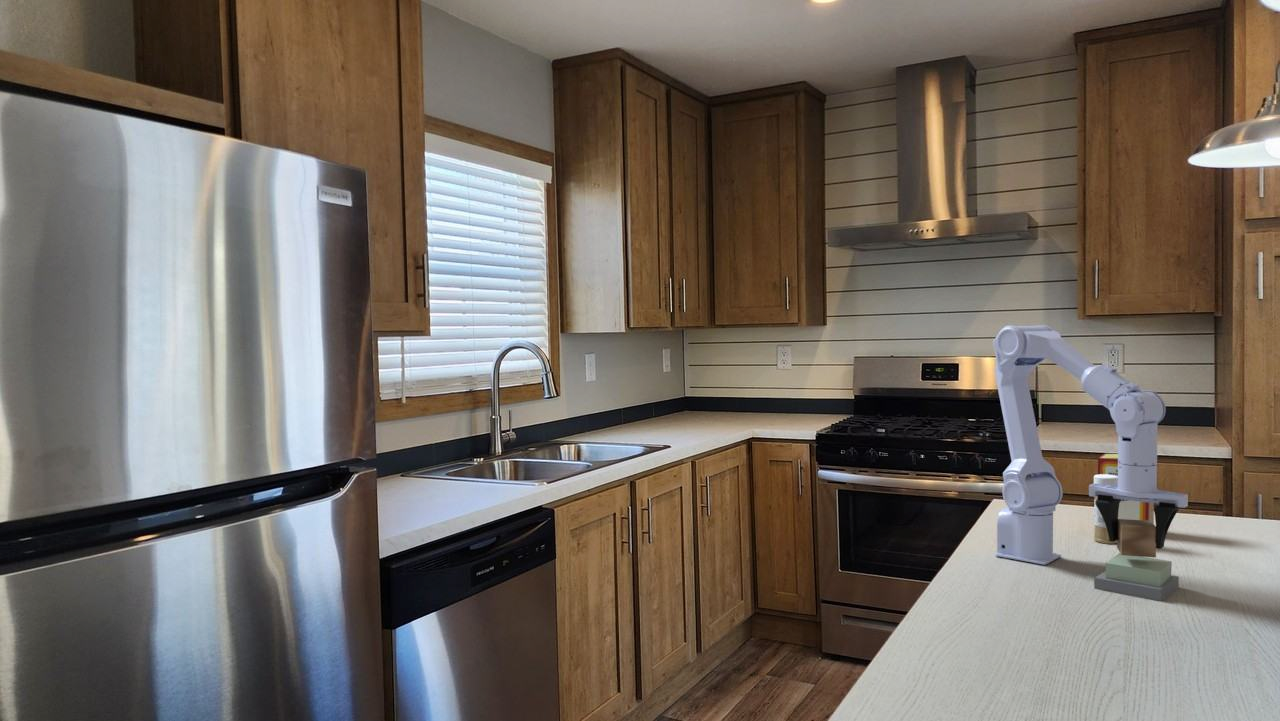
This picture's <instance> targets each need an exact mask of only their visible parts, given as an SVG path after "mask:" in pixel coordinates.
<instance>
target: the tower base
mask: <svg viewBox="0 0 1280 721" xmlns="http://www.w3.org/2000/svg"><path fill="white" fill-rule="evenodd" d="M1179 578H1180V577H1179V576H1177V575H1172V574H1171V577H1170V578H1169V579H1168V580H1167V581H1165V582H1164V583H1163V584H1162V585H1161V586H1160V587H1157V586H1151V585H1145V584H1139V583H1134V582H1128V581H1122V580H1116V579H1111V578H1106V570H1105V571H1103V572H1101V573H1100V574H1098V575H1097V576H1095V577H1094V580H1093V583H1094V584H1093V587H1094V588H1093V589H1095V590H1100V591H1106V592H1111V593H1116V594H1121V595H1125V596H1131V597H1132V596H1133V597H1135V598H1137V597H1138V598H1142V599H1146V600H1152V601H1157V602H1162V601H1163V600H1164V599H1166V598H1168V596H1169V595H1171V594H1172V593H1174V592H1175V591H1176V590H1177V589H1179V587H1180V584H1179V583H1180V579H1179Z"/></svg>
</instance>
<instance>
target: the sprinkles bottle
mask: <svg viewBox="0 0 1280 721" xmlns="http://www.w3.org/2000/svg"><path fill="white" fill-rule="evenodd" d="M1093 484H1102V485H1118V476H1115V475H1108V474H1098V473H1097V474H1095V475H1093ZM1097 498H1098V496H1096V497H1094V506H1093V507H1094V509H1093V518H1094V521H1093V525H1094V536H1093V540H1094V542H1097V543H1099V544H1108V545H1109V544H1110V545H1113V544H1117V540H1116V541H1114V542H1112V541H1109V536H1108V531H1107V528H1106V525H1105V522H1104V519H1103V517H1102V515H1101V513H1100V511H1099V509H1098V508H1097V506H1096V503H1095V501H1096V500H1097ZM1118 519H1119V512H1118Z"/></svg>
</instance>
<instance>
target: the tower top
mask: <svg viewBox="0 0 1280 721" xmlns="http://www.w3.org/2000/svg"><path fill="white" fill-rule="evenodd" d="M1172 566H1173V563H1172V560H1165V559H1160V558H1155V557H1141V556H1127V555H1121V553H1120V552H1118V553H1116V555H1114V556H1113V557H1112V558H1110V559H1109V560H1108V561H1106V563H1105V571H1106V578H1111V579H1116V580H1122V581H1128V582H1134V583H1139V584H1145V585H1151V586H1157V587H1160V586H1161V585H1162V584H1163V583H1164V582H1165V581H1167V580H1168V579H1169V578H1170V577H1171V575H1172Z"/></svg>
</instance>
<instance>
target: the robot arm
mask: <svg viewBox="0 0 1280 721" xmlns="http://www.w3.org/2000/svg"><path fill="white" fill-rule="evenodd" d="M992 344H993V350H994V353H995V354H994V355H995V366H994V375H995V381H996V385H997V393H998V397H999V401H1000V407H1001V413H1002V417H1003V423H1004V428H1005V434H1006V437H1007V438H1006V439H1007V443H1008V450H1009V455H1010V460H1011V462H1010V464H1009V465H1008V466H1007V467H1006V468H1005V470H1004V471H1003V472H1002V478H1003V485H1002V491H1001V493H1002V497H1003V501H1004V503H1005V505H1006V507H1003V508H1002V509H1001V510H1000V511H999V513H998V516H997V520H996V552H995V554H994V556H995V557H1001V558H1005V559H1011V560H1016V561H1023V562H1029V563H1033V564H1037V565H1038V564H1039V565H1044V566H1045V565H1048V564H1050V563H1051V562H1053V561H1055V560H1057V559H1059V558H1061V557H1062V554H1061V553H1057V552H1054V512H1056V506H1058V505H1059V504H1060V502H1061V501H1062V499H1063V496H1064V495H1063V494H1064V493H1063V487H1062V484H1061V482H1060V481H1059V479H1058V477H1057V475H1056V472H1055V469H1054V468H1055V467H1054V466H1053V465H1052V464H1050V463H1049V462H1048V461H1046V460H1045V459H1044V458H1043V454H1042V449H1041V444H1040V443H1041V442H1040V439H1039V438H1040V437H1039V431H1038V427H1037V422H1036V417H1035V412H1034V408H1033V407H1034V406H1033V402H1032V396H1031V391H1030V388H1029V382H1028V377H1029V375H1030V373H1031V372H1032V371H1033V370H1034V368H1036V367H1037V366H1038V365H1040V364H1041V363H1043V362H1044V361H1045V360H1046V359H1047V360H1049V361H1050V362H1052V363H1054V364H1055V365H1056V366H1058V367H1060V368H1061V369H1063V370H1065V371H1066V372H1067V373H1069V374H1071V375H1072V376H1074V377H1075V378H1077V379H1078V380H1080V381H1081V388H1082V390H1083V392H1084V393H1086V394H1088V396H1090V397H1091V398H1093V399H1094V400H1095V401H1096V402H1098V403H1099V404H1101V405H1102V406H1103V407H1105V408H1106V409H1107V410H1108V411H1109V413H1110V417H1111V419H1112V420H1113V422H1114V424H1115V429H1116V432H1115V433H1117V436H1118V437H1117V438H1118V439H1117V454H1118V485H1102V484H1094V483H1091V484H1088V496H1089V497H1092V498H1093V497H1094V498H1095V497H1096V496H1098V498H1097V500H1096V501H1095V503H1096V506H1097V508H1098V509H1099V511H1100V513H1101V515H1102V517H1103V519H1104V522H1105V525H1106V528H1107V531H1108V536H1109V541H1112V542H1114V541H1116V540H1117V519H1118V511H1119V503H1120V499H1123V500H1131V501H1140V502H1148V503H1154V504H1157V505H1156V506H1154V520H1155V526H1156V537H1155V543H1156V550H1161V549H1163V548H1164V546H1165V542H1166V537H1167V534H1168V531H1169V529H1170V526H1171V524H1172V522H1173V520H1174V519H1175V517H1176V514H1177V513H1178V511H1179V510H1180V508H1183V509H1184V508H1187V507H1188V506H1189V505H1188V504H1189V501H1188V500H1189V495H1188V493H1179V492H1174V491H1169V490H1162V489H1158V488H1157V487H1158V486H1157V484H1158V482H1157V481H1158V477H1157V476H1158V424H1159V423H1161V421H1163V419H1164V418H1165V415H1166V412H1167V411H1166V410H1167V409H1166V404H1165V402H1164V399H1163V398H1162V397H1161V395H1159V394H1158V393H1157V391H1155V390H1151V389H1148V390H1147V389H1145V390H1143V389H1140V386H1139V384H1138V383H1137V382H1131V381H1129V380H1128V379H1127V378H1125V377H1124V376H1122V375H1121V374H1119V373H1118V368H1116V366H1114V365H1106V364H1099V365H1095V364H1094V363H1092V362H1091V361H1090V360H1089V359H1088V358H1086V357H1085V356H1084V355H1083V354H1081V352H1079V351H1078V350H1076V349H1075V348H1074V347H1073V346H1072V345H1071V344H1070V343H1068V342H1066V341H1065V340H1064V339H1063V338H1062V336H1061V333H1060V332H1058V331H1057V330H1053V328H1052V327H1050V326H1048V325H1046V324H1039V325H1020V326H1019V325H1017V326H1015V325H1006V326H1004V327H1003V328H1001V329H1000V331H999V332H998V334H997V335H996V337H995V338H994V339H993V341H992ZM1028 475H1031V476H1028ZM1145 498H1148V499H1145Z"/></svg>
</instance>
